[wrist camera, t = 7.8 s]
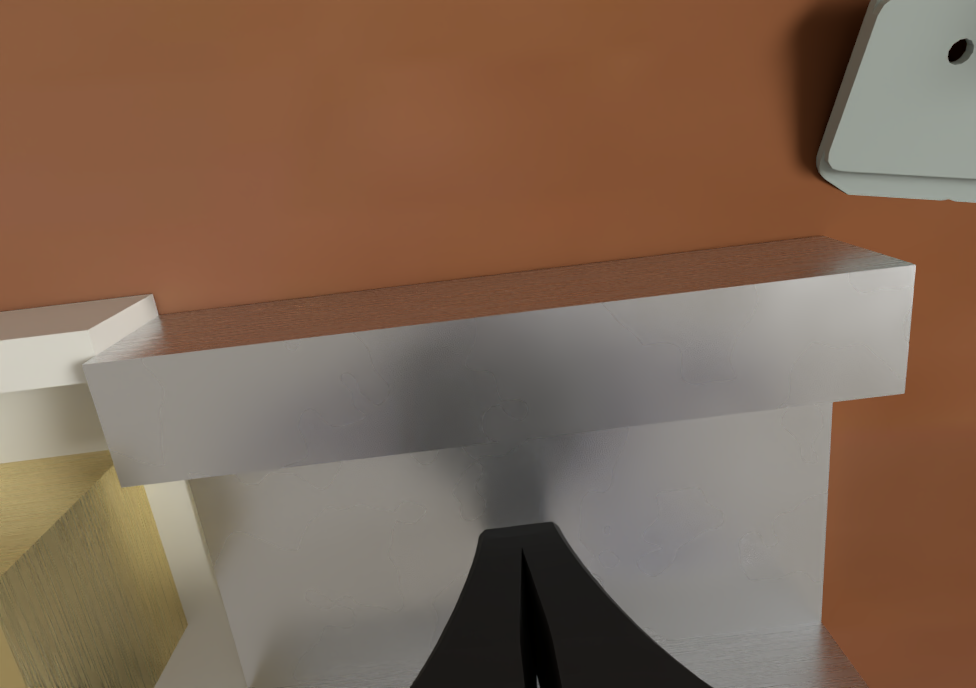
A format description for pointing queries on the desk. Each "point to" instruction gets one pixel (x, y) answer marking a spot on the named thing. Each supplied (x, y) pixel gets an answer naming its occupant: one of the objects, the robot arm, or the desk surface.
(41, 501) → the brass cube
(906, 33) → the metal bracket
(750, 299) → the aluminium channel
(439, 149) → the desk surface
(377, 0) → the desk surface
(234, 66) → the desk surface
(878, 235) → the desk surface
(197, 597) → the tray
